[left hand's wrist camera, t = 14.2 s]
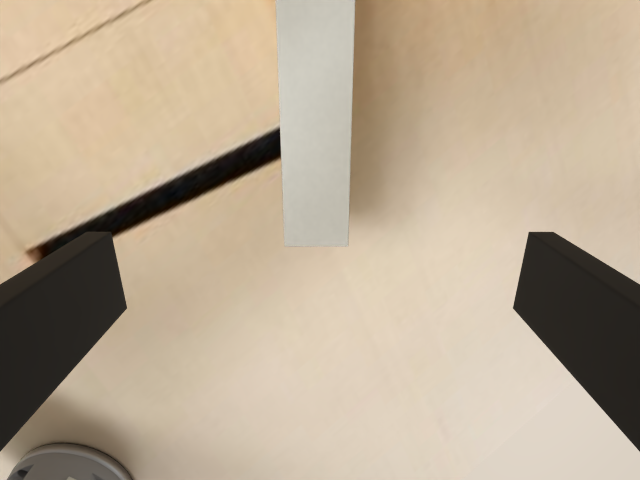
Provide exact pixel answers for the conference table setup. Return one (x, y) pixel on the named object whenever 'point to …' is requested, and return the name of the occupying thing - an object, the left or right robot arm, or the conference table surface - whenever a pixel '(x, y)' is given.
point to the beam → (315, 118)
